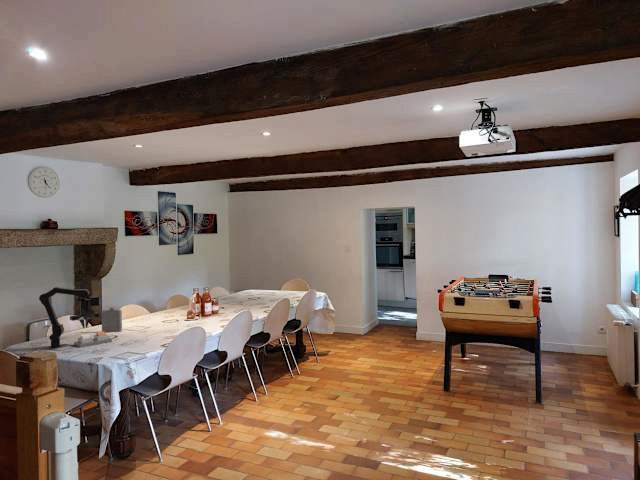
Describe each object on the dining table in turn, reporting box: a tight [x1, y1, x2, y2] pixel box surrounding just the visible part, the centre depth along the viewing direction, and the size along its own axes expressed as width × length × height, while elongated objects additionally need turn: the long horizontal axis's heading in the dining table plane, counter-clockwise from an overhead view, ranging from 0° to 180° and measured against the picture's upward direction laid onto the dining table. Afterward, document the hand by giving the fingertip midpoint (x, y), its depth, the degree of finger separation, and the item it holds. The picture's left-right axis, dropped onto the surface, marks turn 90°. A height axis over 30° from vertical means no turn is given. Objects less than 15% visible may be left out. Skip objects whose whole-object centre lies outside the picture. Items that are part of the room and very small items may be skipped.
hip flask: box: [101, 306, 123, 333], centre depth 367 cm, size 16×4×20 cm, turn 93°
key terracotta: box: [95, 331, 107, 336], centre depth 332 cm, size 5×5×3 cm
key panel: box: [73, 333, 113, 348], centre depth 328 cm, size 12×22×5 cm, turn 137°
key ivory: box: [79, 333, 91, 339], centre depth 324 cm, size 5×5×3 cm
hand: (85, 328), depth 324 cm, fingers closed
